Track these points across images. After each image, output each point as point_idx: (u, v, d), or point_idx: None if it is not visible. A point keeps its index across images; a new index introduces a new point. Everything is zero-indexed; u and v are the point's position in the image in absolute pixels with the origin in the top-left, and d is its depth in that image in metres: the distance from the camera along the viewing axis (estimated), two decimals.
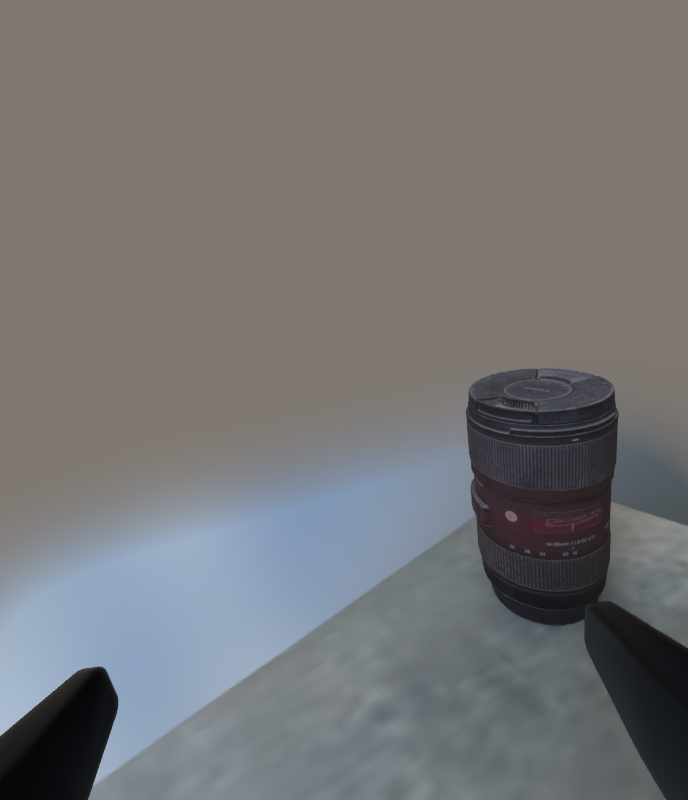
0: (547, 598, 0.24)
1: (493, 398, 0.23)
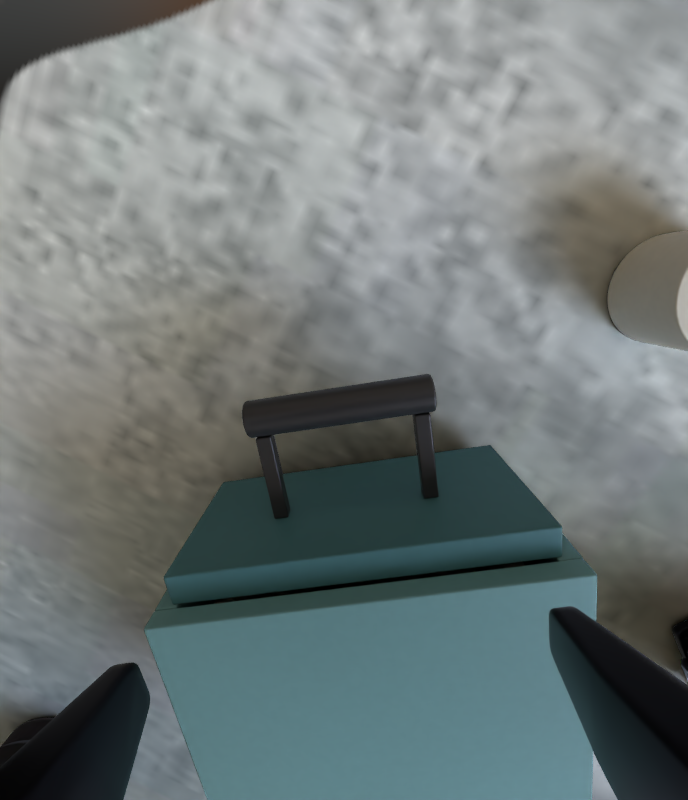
0: None
1: None
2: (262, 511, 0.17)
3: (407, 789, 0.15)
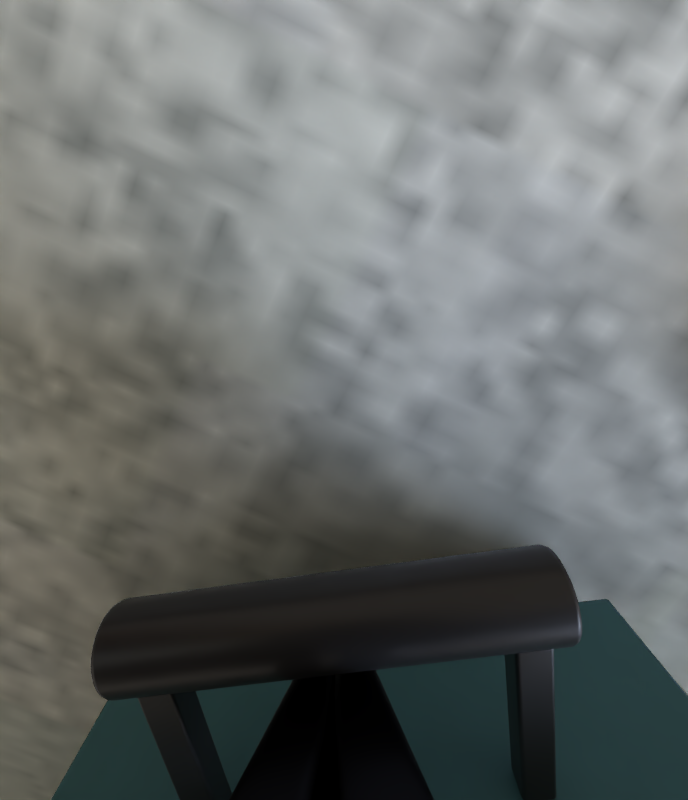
0: None
1: None
2: (176, 790, 0.08)
3: None
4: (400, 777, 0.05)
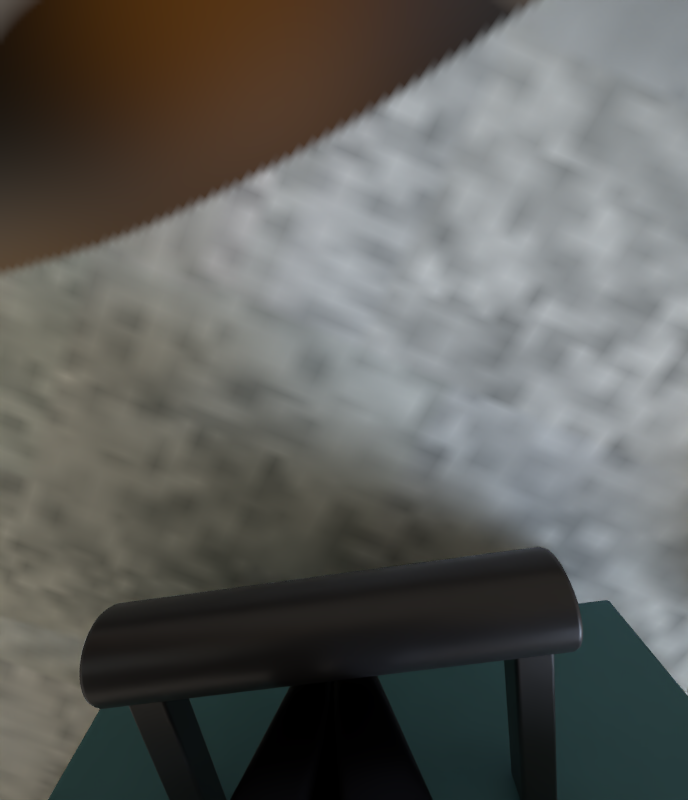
0: None
1: None
2: None
3: None
4: (399, 777, 0.05)
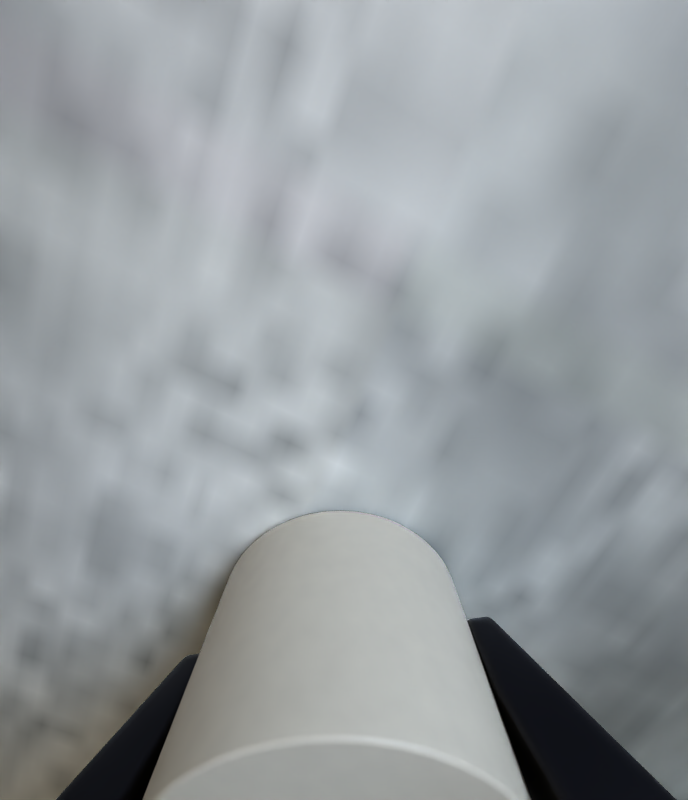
0: None
1: None
2: None
3: None
4: (606, 754, 0.04)
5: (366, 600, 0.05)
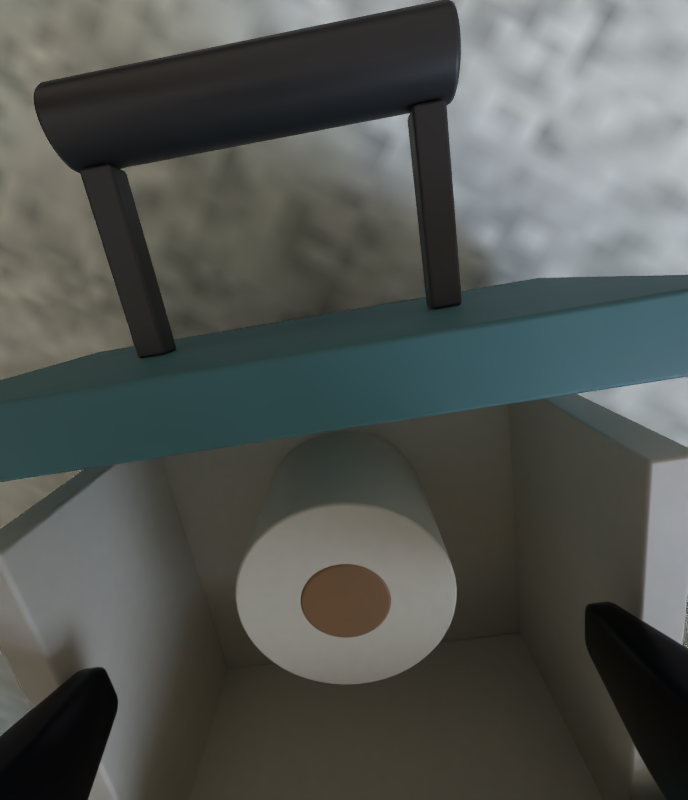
0: None
1: None
2: (127, 357, 0.09)
3: None
4: None
5: (361, 465, 0.10)
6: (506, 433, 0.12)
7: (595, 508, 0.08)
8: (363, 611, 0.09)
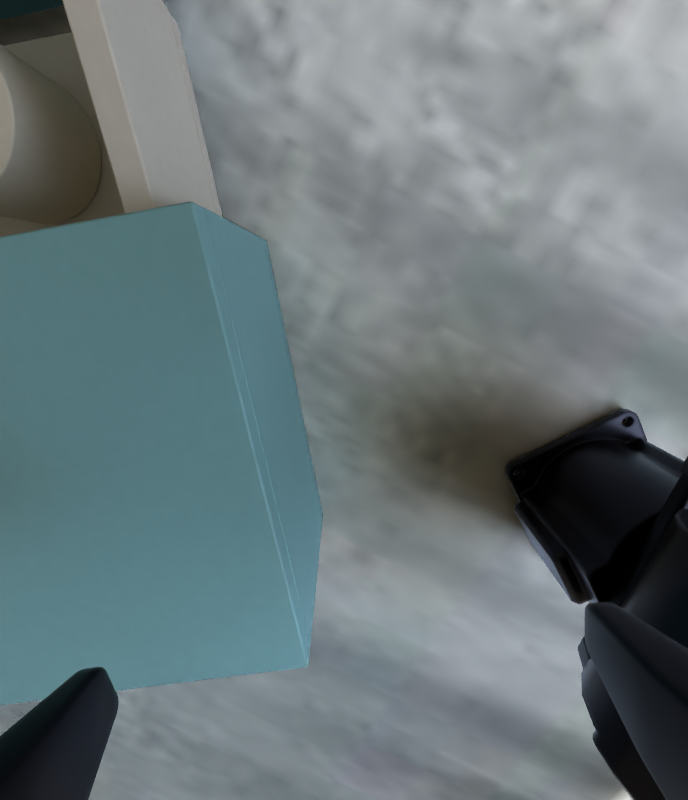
0: None
1: None
2: None
3: (44, 571, 0.12)
4: None
5: None
6: None
7: None
8: None
